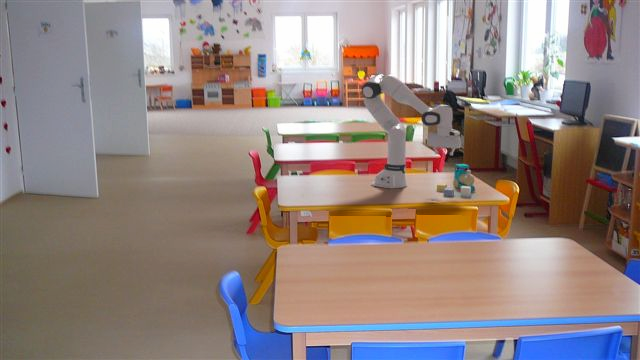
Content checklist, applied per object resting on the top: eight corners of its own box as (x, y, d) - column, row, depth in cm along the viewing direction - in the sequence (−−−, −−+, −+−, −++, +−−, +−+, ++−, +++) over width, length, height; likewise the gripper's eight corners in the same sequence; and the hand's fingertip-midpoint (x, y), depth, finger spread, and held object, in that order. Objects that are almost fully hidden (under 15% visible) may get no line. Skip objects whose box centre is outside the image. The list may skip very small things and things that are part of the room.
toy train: (465, 193, 402) (466, 169, 399) (452, 187, 417) (453, 164, 414) (476, 192, 404) (478, 168, 401) (464, 187, 419) (465, 163, 416)
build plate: (451, 198, 388) (451, 196, 388) (456, 194, 399) (457, 192, 399) (474, 200, 383) (474, 198, 382) (478, 196, 394) (478, 194, 394)
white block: (460, 195, 389) (460, 187, 388) (462, 194, 394) (462, 185, 393) (468, 196, 387) (469, 188, 386) (470, 195, 392) (471, 186, 391)
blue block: (443, 197, 390) (443, 189, 389) (445, 196, 394) (445, 187, 393) (451, 198, 388) (452, 190, 387) (453, 196, 392) (454, 188, 391)
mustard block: (436, 192, 402) (436, 184, 401) (438, 191, 407) (438, 183, 406) (444, 193, 400) (445, 185, 399) (446, 192, 405) (447, 184, 404)
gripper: (426, 131, 399) (425, 154, 402) (458, 133, 389) (458, 156, 391) (430, 130, 405) (429, 152, 407) (462, 132, 394) (461, 155, 397)
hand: (443, 154), depth 399 cm, fingers open, 8 cm apart
